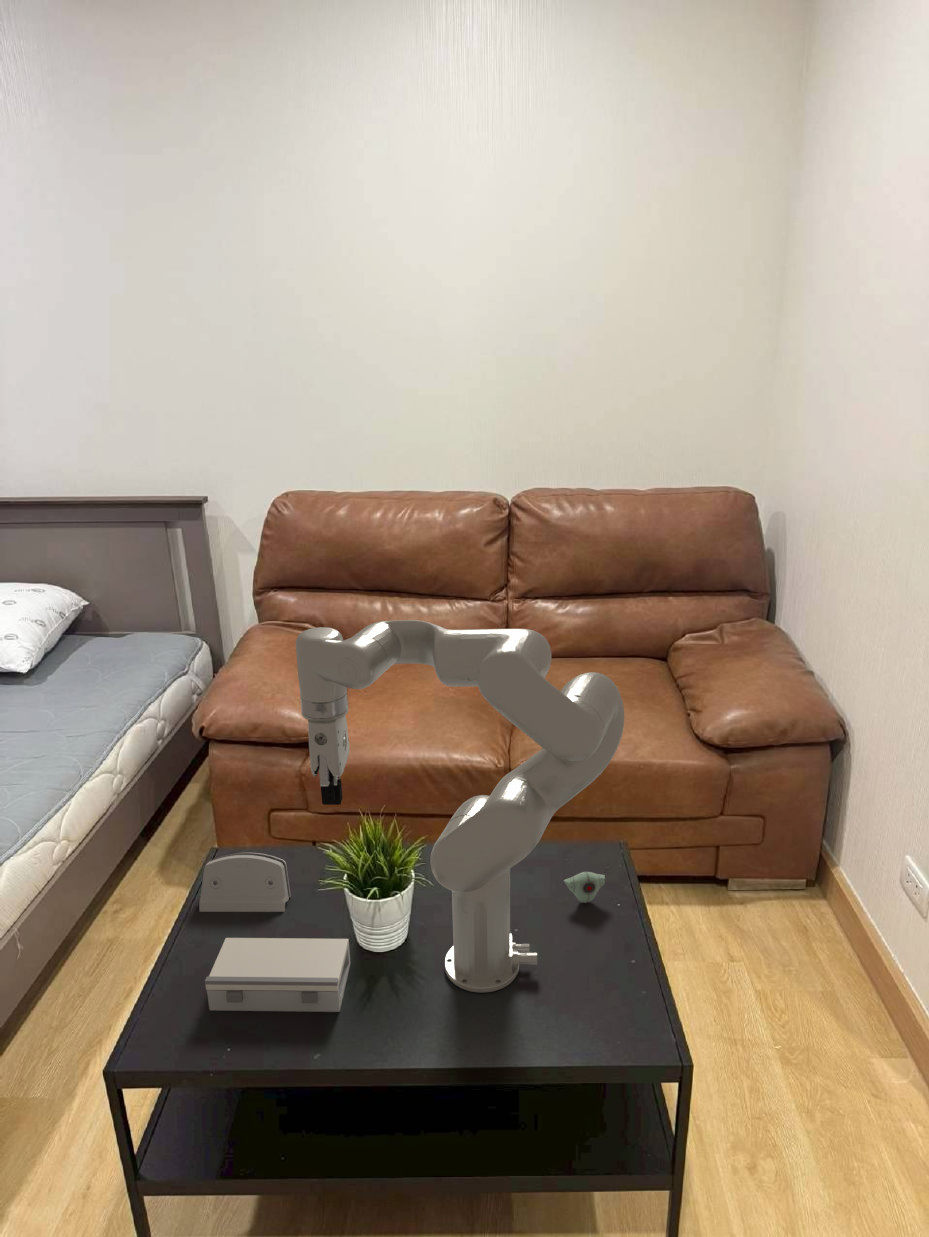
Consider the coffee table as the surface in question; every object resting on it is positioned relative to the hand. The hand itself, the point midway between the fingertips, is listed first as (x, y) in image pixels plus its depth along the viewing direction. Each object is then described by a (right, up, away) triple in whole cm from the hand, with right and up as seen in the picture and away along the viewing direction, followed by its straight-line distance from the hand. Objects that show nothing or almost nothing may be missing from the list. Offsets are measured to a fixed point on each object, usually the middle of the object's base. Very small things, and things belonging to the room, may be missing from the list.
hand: (332, 802), depth 151 cm
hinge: (-19, -23, +19) cm, 35 cm away
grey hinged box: (-8, -30, -3) cm, 31 cm away
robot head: (+45, -22, +16) cm, 53 cm away
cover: (-8, -26, -4) cm, 28 cm away
